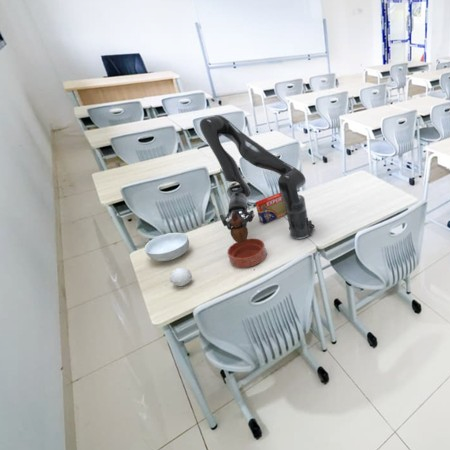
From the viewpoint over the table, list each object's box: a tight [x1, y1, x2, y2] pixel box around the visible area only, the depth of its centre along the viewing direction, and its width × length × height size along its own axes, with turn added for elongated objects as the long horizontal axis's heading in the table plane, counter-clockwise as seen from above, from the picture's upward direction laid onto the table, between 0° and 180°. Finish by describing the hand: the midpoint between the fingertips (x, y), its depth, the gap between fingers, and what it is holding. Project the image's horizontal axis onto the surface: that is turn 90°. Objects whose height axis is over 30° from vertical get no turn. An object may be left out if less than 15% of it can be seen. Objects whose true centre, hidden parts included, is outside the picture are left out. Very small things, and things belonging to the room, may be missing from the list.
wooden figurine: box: [230, 212, 249, 243], centre depth 148 cm, size 7×6×15 cm
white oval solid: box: [165, 267, 193, 287], centre depth 140 cm, size 10×7×7 cm
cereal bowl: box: [144, 232, 190, 262], centre depth 157 cm, size 17×17×7 cm
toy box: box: [254, 192, 287, 225], centre depth 185 cm, size 18×4×12 cm, turn 138°
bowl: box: [226, 238, 267, 268], centre depth 156 cm, size 15×15×6 cm
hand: (236, 226), depth 145 cm, fingers closed on wooden figurine, 4 cm apart
